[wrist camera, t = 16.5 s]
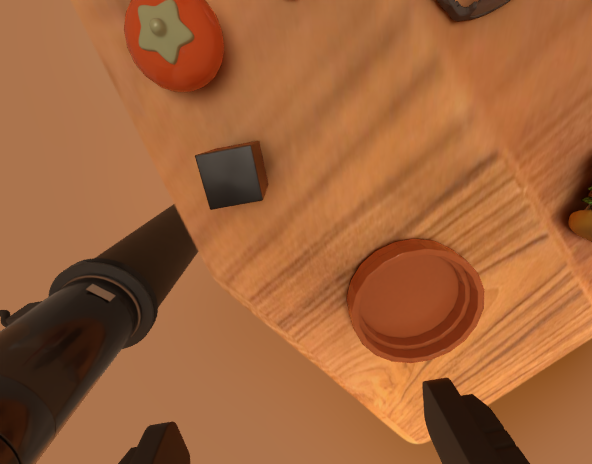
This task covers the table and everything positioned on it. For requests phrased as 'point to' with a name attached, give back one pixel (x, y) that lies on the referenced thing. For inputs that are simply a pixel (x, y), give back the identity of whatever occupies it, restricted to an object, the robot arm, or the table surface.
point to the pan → (414, 301)
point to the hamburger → (582, 220)
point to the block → (233, 175)
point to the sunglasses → (470, 8)
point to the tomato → (175, 42)
